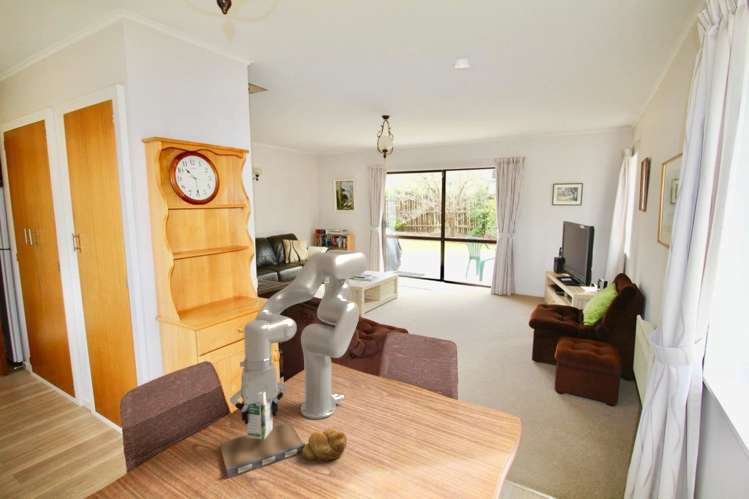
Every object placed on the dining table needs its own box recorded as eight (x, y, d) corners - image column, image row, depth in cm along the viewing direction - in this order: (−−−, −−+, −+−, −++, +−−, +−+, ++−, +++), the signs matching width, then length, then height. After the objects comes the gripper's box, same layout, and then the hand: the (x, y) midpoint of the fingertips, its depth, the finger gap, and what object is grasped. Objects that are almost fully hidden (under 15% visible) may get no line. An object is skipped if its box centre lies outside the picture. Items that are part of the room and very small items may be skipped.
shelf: (290, 426, 126) (290, 419, 125) (305, 452, 113) (305, 445, 112) (219, 447, 115) (219, 439, 115) (228, 478, 102) (227, 470, 101)
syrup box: (246, 437, 112) (245, 391, 110) (256, 426, 118) (255, 382, 116) (264, 440, 111) (263, 393, 109) (273, 428, 117) (272, 384, 115)
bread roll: (302, 467, 107) (301, 441, 106) (303, 445, 116) (302, 421, 115) (347, 462, 109) (347, 436, 108) (344, 441, 118) (344, 417, 117)
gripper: (229, 373, 104) (231, 433, 106) (290, 361, 113) (291, 416, 115) (225, 363, 111) (227, 419, 113) (283, 352, 119) (284, 405, 121)
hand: (260, 417), depth 114 cm, fingers closed on syrup box, 7 cm apart
